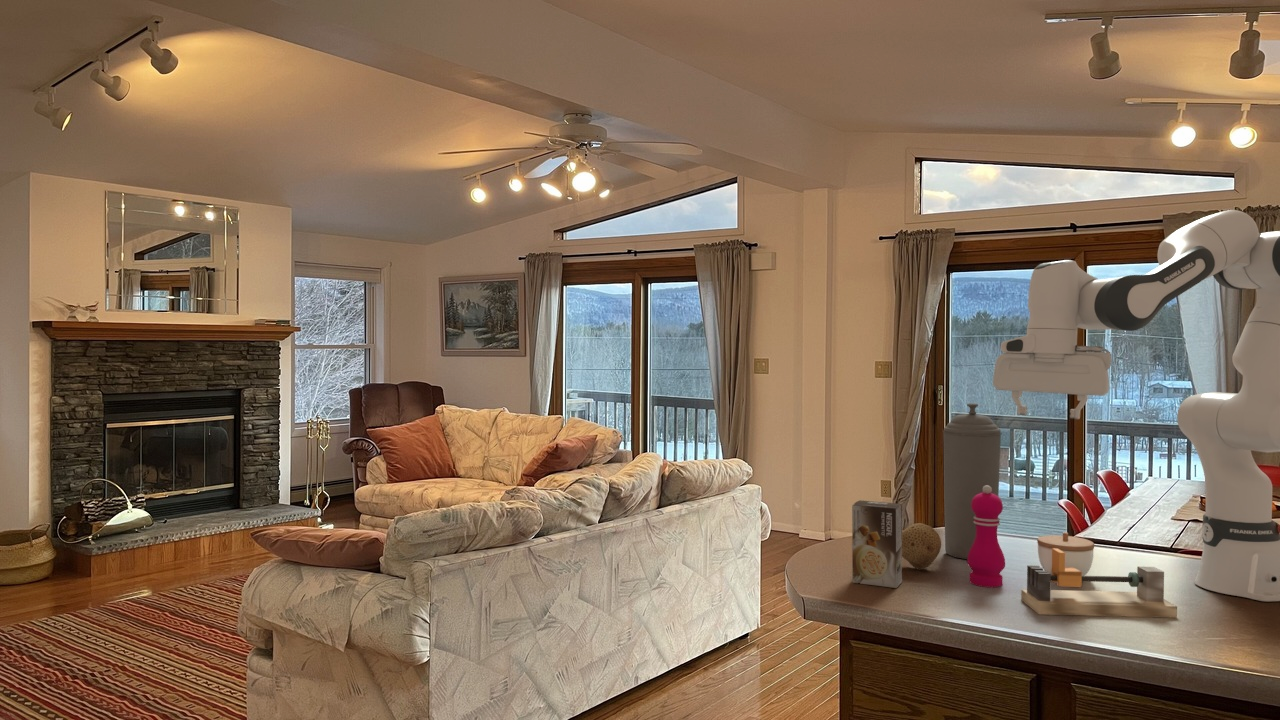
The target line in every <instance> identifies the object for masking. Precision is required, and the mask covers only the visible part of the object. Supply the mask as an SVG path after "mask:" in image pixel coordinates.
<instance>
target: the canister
mask: <svg viewBox="0 0 1280 720" xmlns="http://www.w3.org/2000/svg"><path fill="white" fill-rule="evenodd" d="M966 406H967V407H968V408H969V412H968V414H967V413H964V414H958V415H957V414H956V415H955V416H954V417H953V418H952V419H950V422H948V423H947V424H946V426H944V428H943V430H942V433H943V435H942V436H943V440H942V441H943V442H942V443H943V499H944V500H943V501H944V502H943V503H944V504H943V505H944V510H943V511H944V548H945V550H944V551H945V553H946V554H947V555H949V556H950V557H954V558H957V559H963V560H967V559H968V554H969V551H970V549H971V547H972V545H973V543H974V540H975V537H976V524H975V523H974V516H976V515H975V513H974V512H973V510H972V508H971V502H972V499H973V498H974V496H976V495H977V494H979V493H984V492H983V490H982V489H983V487H984V486H986V485H988V486H990V487H991V488H992V491H991V493H992V494H995V495H997V496H998V497H999V493H1000V492H999V490H1000V470H1001V469H1000V468H1001V464H1000V463H1001V441H1002V439H1001V437H1002V435H1003V434H1002V432H1001V429H1000V428H999V427H998V426H997V424H996V423H994V421H993V419H992V418H990V417H989V416H988V415H985V414H983V415H982V414H977V412H976V408H978V407H979V404H978V403H973V402H972V403H971V402H970V403H967V404H966Z"/></svg>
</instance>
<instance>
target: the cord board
mask: <svg viewBox="0 0 1280 720" xmlns="http://www.w3.org/2000/svg"><path fill="white" fill-rule="evenodd" d="M1026 572H1027V573H1026V575H1027V576H1026V589H1021V594H1020V600H1021V601H1022V602H1023V603H1025V604H1026V605H1027V606H1028V607H1029V608H1030V609H1032V610H1033V611H1034V612H1036V614H1038V615H1054V616H1056V615H1060V616H1093V617H1094V616H1097V617H1098V616H1100V617H1101V616H1102V617H1133V618H1134V617H1136V618H1137V617H1138V618H1139V617H1141V618H1178V606H1177V605H1175V604H1174V603H1172V602H1171V601H1169V600H1167V599H1165V597H1164V595H1165V592H1164V591H1165V571H1163V570H1161V569H1159V568H1158V567H1155V566H1138V565H1137V568H1136V572H1132V571H1130V572H1128V575H1127V576H1117V575H1116V576H1113V575H1111V576H1110V575H1108V576H1107V575H1085V576H1082V582H1094V583H1095V582H1096V583H1097V582H1101V583H1102V582H1104V583H1109V582H1111V583H1128V584H1129V586H1130V587H1131V588H1136V591H1115V590H1114V591H1106V590H1101V591H1100V590H1063V589H1062V590H1059V589H1058V590H1057V589H1051V585H1052V581H1057V575H1051V574H1050V573H1048V572H1047V571H1046V570H1044V569H1043V568H1042V566H1039V565H1032V564H1031V565H1027V570H1026Z"/></svg>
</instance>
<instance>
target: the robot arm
mask: <svg viewBox="0 0 1280 720" xmlns="http://www.w3.org/2000/svg"><path fill="white" fill-rule="evenodd" d="M1157 249H1158V250H1157V262H1158V265H1159V266H1157V267H1156V268H1154V269H1152V270H1151V271H1149V272H1147V273H1146V274H1130V275H1123V276H1118V277H1112V278H1111V277H1109V278H1101V279H1099V278H1097V277H1096V276H1095V277H1094V276H1093V275H1091V274H1090V273H1087V272H1086V271H1084V270H1083V269H1082V268H1081V267H1079V265H1078V263H1077V262H1076V261H1075V260H1071V259H1064V260H1058V261H1051V262H1050V261H1049V262H1043V263H1039V264H1038V265H1037V266H1036V267H1034V269H1033V271H1032V273H1031V277H1030V280H1029V289H1028V300H1027V307H1028V311H1029V319H1028V323H1027V326H1026V335H1023V336H1017V337H1015V338H1012V339H1008V340H1004V341H1002V342H1001V343H1000V351H1001V352H1002V353H1001V354H999V356H998V357H997V358H996V361H995V365H994V369H993V370H994V371H993V375H992V376H993V377H992V386H993V387H994V388H995V389H996V390H997V391H1008V392H1009V391H1011V398H1012V400H1013V401H1014V403H1015V405H1016V407H1017V409H1016V414H1017V415H1018V416H1027V415H1028V411H1027V410H1028V405H1023V402H1022V401H1021V399H1020V398H1021V397H1022V396H1023V395H1022V394H1023V392H1029V393H1044V394H1045V393H1046V394H1063V395H1076V398H1077V399H1076V400H1077V401H1079V403H1078V404H1077V406H1076V407H1075V408H1071V409H1069V413H1070V414H1069V419H1072V420H1073V419H1074V420H1080V418H1081V410H1082V409H1083V407H1084V406H1085V405H1086V403H1087V402H1088V397H1089V396H1097V397H1100V396H1101V397H1103V396H1106V395H1107V394H1108V393H1109V390H1110V377H1109V369H1110V368H1111V366H1112V353H1111V352H1110V351H1109V350H1108V349H1106V348H1104V347H1103V346H1102V345H1101V346H1100V345H1099V346H1098V345H1095V346H1091V345H1090V346H1088V345H1078V330H1079V329H1083V330H1098V331H1099V330H1101V331H1102V330H1116V331H1117V330H1118V331H1128V332H1130V331H1131V332H1133V331H1138V330H1140V329H1143V328H1144V327H1146V326H1147V325H1148V324H1150V323H1151V322H1152V321H1153V320H1154V318H1156V316H1157V314H1158V313H1159V312H1160V311H1161V310H1162V308H1163V307H1164V306H1165V305H1167V304H1168V303H1169V302H1171V301H1172V300H1174V299H1175V298H1177V297H1179V296H1180V295H1182V294H1183V293H1186V292H1187V291H1188V290H1190V289H1192V288H1193V287H1194V286H1196V285H1199V283H1201V282H1203V281H1205V280H1206V279H1208V278H1211V277H1212V276H1213V279H1215V281H1216V282H1217V283H1218V284H1219V285H1220V286H1222V287H1224V288H1227V289H1232V290H1237V291H1238V290H1240V291H1241V290H1242V291H1244V290H1247V289H1248V290H1249V289H1250V290H1251V289H1254V290H1255V293H1256V301H1255V305H1254V307H1253V309H1252V311H1251V312H1250V314H1249V317H1248V318H1247V321H1246V322H1245V325H1244V328H1243V330H1242V332H1241V335H1240V336H1239V340H1238V342H1237V345H1236V346H1235V348H1234V351H1233V354H1232V357H1231V360H1232V365H1233V366H1234V368H1235V369H1236V371H1237V372H1238V373H1239V374H1241V375H1242V381H1241V382H1242V383H1241V388H1240V390H1239V392H1238V393H1236V392H1235V393H1234V392H1233V393H1232V392H1222V391H1221V392H1219V391H1208V392H1202V393H1199V394H1198V393H1197V394H1192V395H1189V396H1188V397H1186V398H1185V399H1184V400H1183V401H1182V402H1181V403H1180V405H1179V407H1178V410H1177V416H1176V417H1177V418H1176V419H1177V425H1178V428H1179V430H1180V431H1181V433H1183V435H1184V436H1185V437H1186V438H1187V439H1188V440H1189V441H1190V442H1191V444H1192V445H1193V447H1194V448H1195V451H1196V453H1197V456H1198V458H1199V461H1200V464H1201V466H1202V470H1203V476H1204V483H1205V491H1204V492H1205V493H1204V494H1205V513H1204V514H1203V515H1202V532H1201V533H1202V542H1203V546H1202V554H1201V558H1200V559H1201V560H1200V564H1199V568H1198V571H1197V575H1196V577H1195V579H1194V584H1195V585H1196V586H1198V587H1200V588H1203V589H1205V590H1208V591H1211V592H1215V593H1219V594H1225V595H1229V596H1230V595H1231V596H1234V597H1235V596H1237V597H1242V598H1247V599H1250V600H1256V601H1260V602H1280V523H1278V522H1276V521H1274V520H1273V519H1272V517H1273V515H1272V514H1273V484H1272V480H1271V479H1270V478H1269V476H1268V475H1267V474H1266V473H1265V472H1263V471H1262V470H1261V468H1259V466H1258V465H1257V463H1256V462H1255V459H1254V457H1253V454H1252V451H1254V452H1260V453H1280V230H1277V231H1266V232H1261V233H1260V232H1259V228H1258V225H1257V223H1256V221H1255V220H1254V219H1253V218H1252V216H1250V215H1249V214H1247V213H1246V212H1244V211H1242V210H1237V209H1227V210H1223V211H1220V212H1216V213H1214V214H1213V213H1212V214H1210V215H1207V216H1203V217H1201V218H1200V219H1197V220H1194V221H1192V222H1191V223H1188V224H1186V225H1184V226H1182V227H1180V228H1178V229H1176V230H1175V231H1174V232H1172V233H1171V234H1169V235H1168V236H1167V237H1165V238H1164V239H1163V240H1162V241H1161V242H1160V243H1159V246H1158V248H1157Z"/></svg>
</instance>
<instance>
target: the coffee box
mask: <svg viewBox="0 0 1280 720" xmlns="http://www.w3.org/2000/svg"><path fill="white" fill-rule="evenodd" d="M902 513H903V505H902V503H896V502H895V503H894V502H883V501H872V500H871V501H870V500H857V501H856V502H854V503H853V504H852V506H851V516H852V517H851V525H852V526H851V530H852V531H851V532H852V534H851V535H852V537H851V541H852V544H851V545H852V548H851V549H852V550H851V551H852V552H851V554H852V556H851V557H852V562H851V563H852V571H851V572H852V573H851V574H852V576H851V577H852V584H858V583H860V584H861V585H868V586H877V587H885V588H894V589H897V588H898V587H899V586H900V585H901V584H902V583H903V569H902V568H903V562H902V560H903V557H902V532H903V530H902V529H903V528H902V527H903V526H902V525H903V521H902V520H903V515H902Z"/></svg>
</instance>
